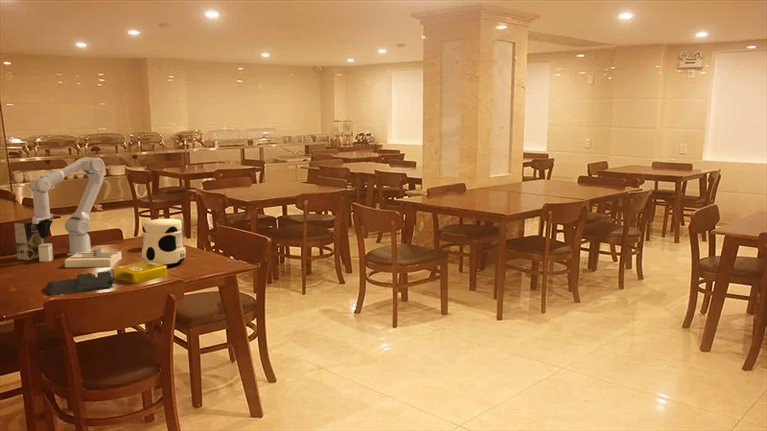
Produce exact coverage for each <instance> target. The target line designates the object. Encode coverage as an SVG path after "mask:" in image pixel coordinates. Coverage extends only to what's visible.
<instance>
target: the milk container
mask: <svg viewBox="0 0 767 431" xmlns="http://www.w3.org/2000/svg"><path fill="white" fill-rule="evenodd" d="M142 233H143V236H142V240H143V241H142V242H143V244H142V248H141V258H142V261H149V262H153V263H158V264H162V265H166V266H167V267H168V266H169V267H170V266H175V265H178V264H181V263H182V262H184V260H185V259H186V251H187V250H186V247H185V244H184V239H183V224H182V220H181V219H178V218H177V219H176V218H156V219H149V220H146V221H143V222H142Z"/></svg>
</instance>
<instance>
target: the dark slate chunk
mask: <svg viewBox="0 0 767 431" xmlns="http://www.w3.org/2000/svg"><path fill="white" fill-rule="evenodd" d="M114 279H115V278H114V275H112V273H111V271H109V270H107V271H98V272H97V276H96V275H95V274H93V273H89V272H88V273H85V274H84V273H78V274H77V275H76V278H73V279H72V278H69V279H68V278H67V279H61V280H55V281H54V280H52V281H49V282H48V283H47V284H46V292H47V295H48V296H50V297H51V296H52V295H57V296H61V295H60V294H65V295H72V294H79V293H86V292H88V293H89V292H97V291H101V290H102V291H103V290H110V289H111V288H114V286H113V285H114V281H115V280H114ZM52 297H53V296H52Z"/></svg>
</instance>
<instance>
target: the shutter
mask: <svg viewBox="0 0 767 431" xmlns="http://www.w3.org/2000/svg"><path fill="white" fill-rule="evenodd" d="M92 250H93V251H92V252H93V254H94V256H93V257H102V256H112V255H113V254H114V252H115V251H104V252H105V253H101V252H102V250H101V247H96V248H94V249H92Z"/></svg>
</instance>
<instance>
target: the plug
mask: <svg viewBox="0 0 767 431" xmlns="http://www.w3.org/2000/svg"><path fill="white" fill-rule="evenodd" d="M38 250H39V257H38V258H39V260H38V261H39V262H41V263H42V262H43V263H44V262H51V261H53V260H54V250H53V243H48V242H47V243H43V244H40V245H38Z"/></svg>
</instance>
